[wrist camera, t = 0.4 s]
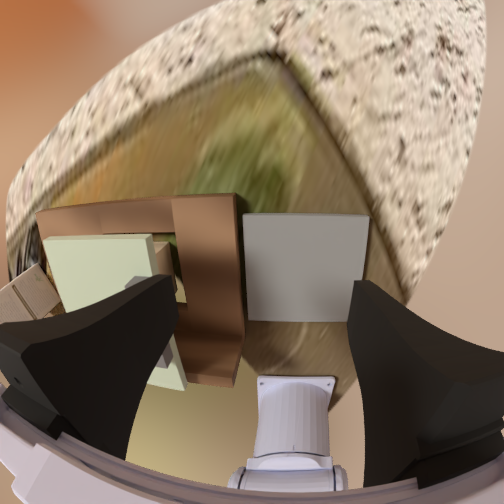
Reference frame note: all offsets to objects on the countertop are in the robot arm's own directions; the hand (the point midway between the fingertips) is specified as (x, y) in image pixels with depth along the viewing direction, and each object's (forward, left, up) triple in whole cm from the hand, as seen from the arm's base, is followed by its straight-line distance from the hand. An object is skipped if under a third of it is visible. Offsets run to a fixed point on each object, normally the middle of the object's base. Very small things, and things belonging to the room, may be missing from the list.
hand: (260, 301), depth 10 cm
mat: (-4, -2, -10) cm, 11 cm away
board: (-4, +13, -10) cm, 17 cm away
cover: (-5, +11, -4) cm, 12 cm away
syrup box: (-8, +29, -10) cm, 32 cm away
